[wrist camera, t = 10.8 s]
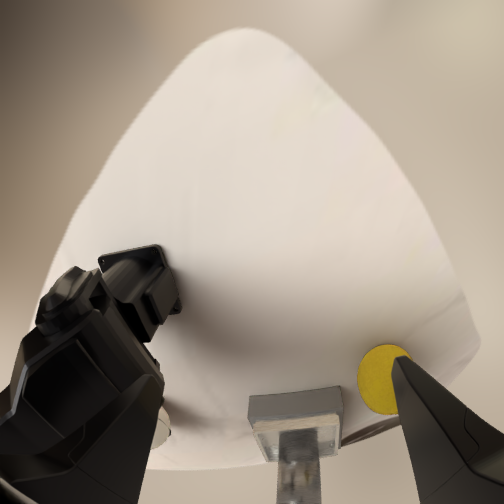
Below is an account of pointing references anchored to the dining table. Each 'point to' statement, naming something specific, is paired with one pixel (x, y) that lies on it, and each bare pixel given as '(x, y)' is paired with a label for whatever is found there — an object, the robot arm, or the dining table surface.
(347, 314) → the dining table surface
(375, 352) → the lemon
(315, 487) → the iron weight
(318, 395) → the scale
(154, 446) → the white egg
